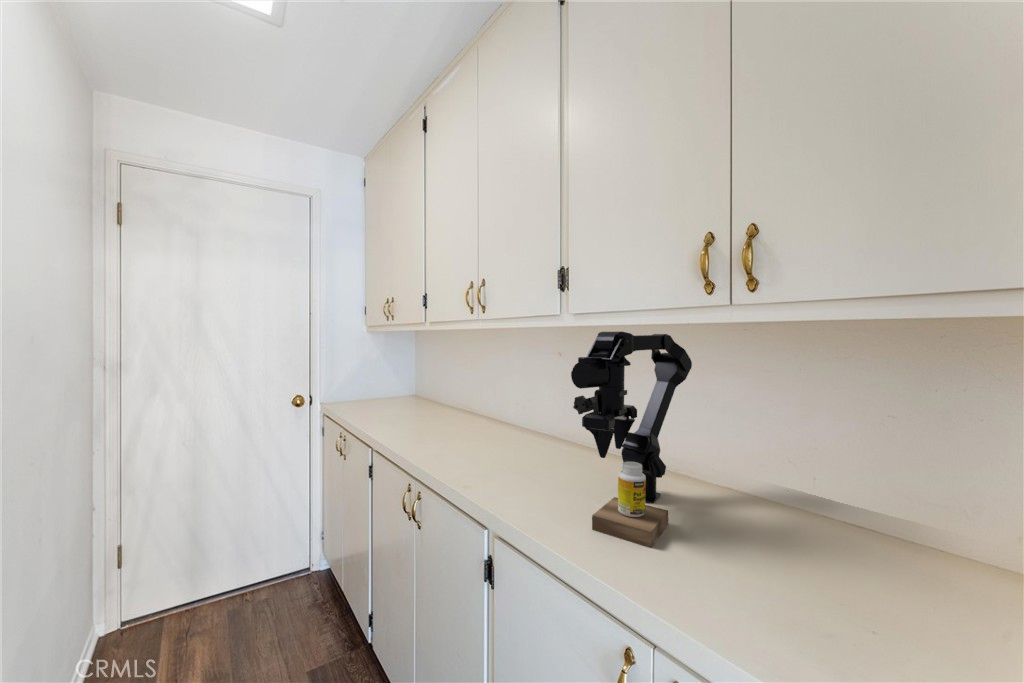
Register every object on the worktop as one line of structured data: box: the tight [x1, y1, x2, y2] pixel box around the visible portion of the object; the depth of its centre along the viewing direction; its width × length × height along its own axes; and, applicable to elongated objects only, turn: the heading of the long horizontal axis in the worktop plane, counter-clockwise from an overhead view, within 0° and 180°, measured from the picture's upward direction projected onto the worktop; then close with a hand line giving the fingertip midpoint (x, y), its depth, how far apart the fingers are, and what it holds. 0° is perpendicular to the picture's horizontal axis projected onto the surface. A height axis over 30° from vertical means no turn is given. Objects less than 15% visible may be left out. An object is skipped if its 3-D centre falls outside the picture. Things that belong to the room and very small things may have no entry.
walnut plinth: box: [591, 496, 669, 549], centre depth 85 cm, size 12×12×3 cm
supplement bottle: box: [617, 462, 646, 517], centre depth 85 cm, size 6×6×10 cm
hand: (610, 453), depth 94 cm, fingers open, 9 cm apart
